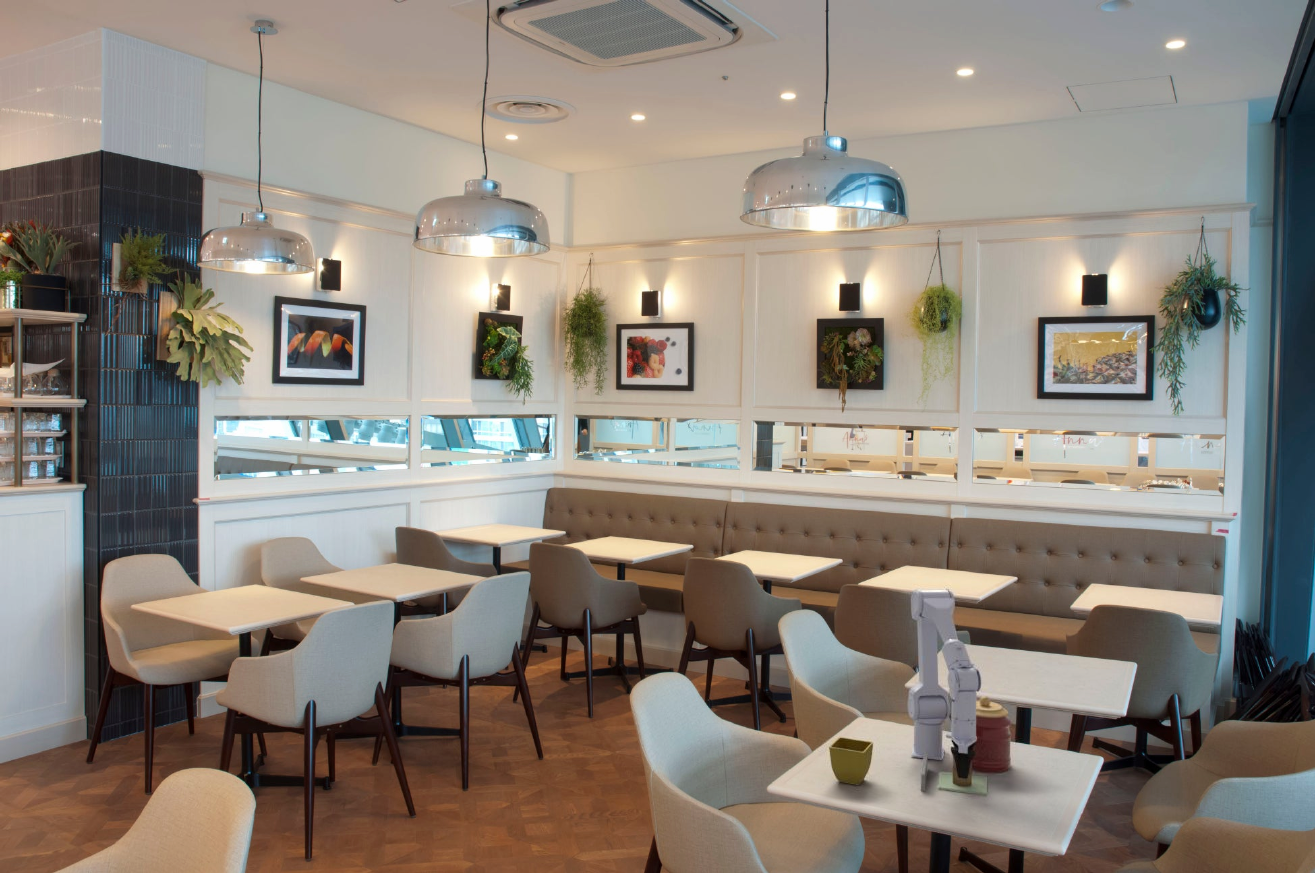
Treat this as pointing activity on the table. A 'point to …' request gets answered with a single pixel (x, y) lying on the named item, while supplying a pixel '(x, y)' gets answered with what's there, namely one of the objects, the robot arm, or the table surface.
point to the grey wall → (924, 771)
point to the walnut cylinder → (962, 781)
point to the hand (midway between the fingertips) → (962, 773)
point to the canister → (991, 737)
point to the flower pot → (850, 759)
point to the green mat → (976, 788)
